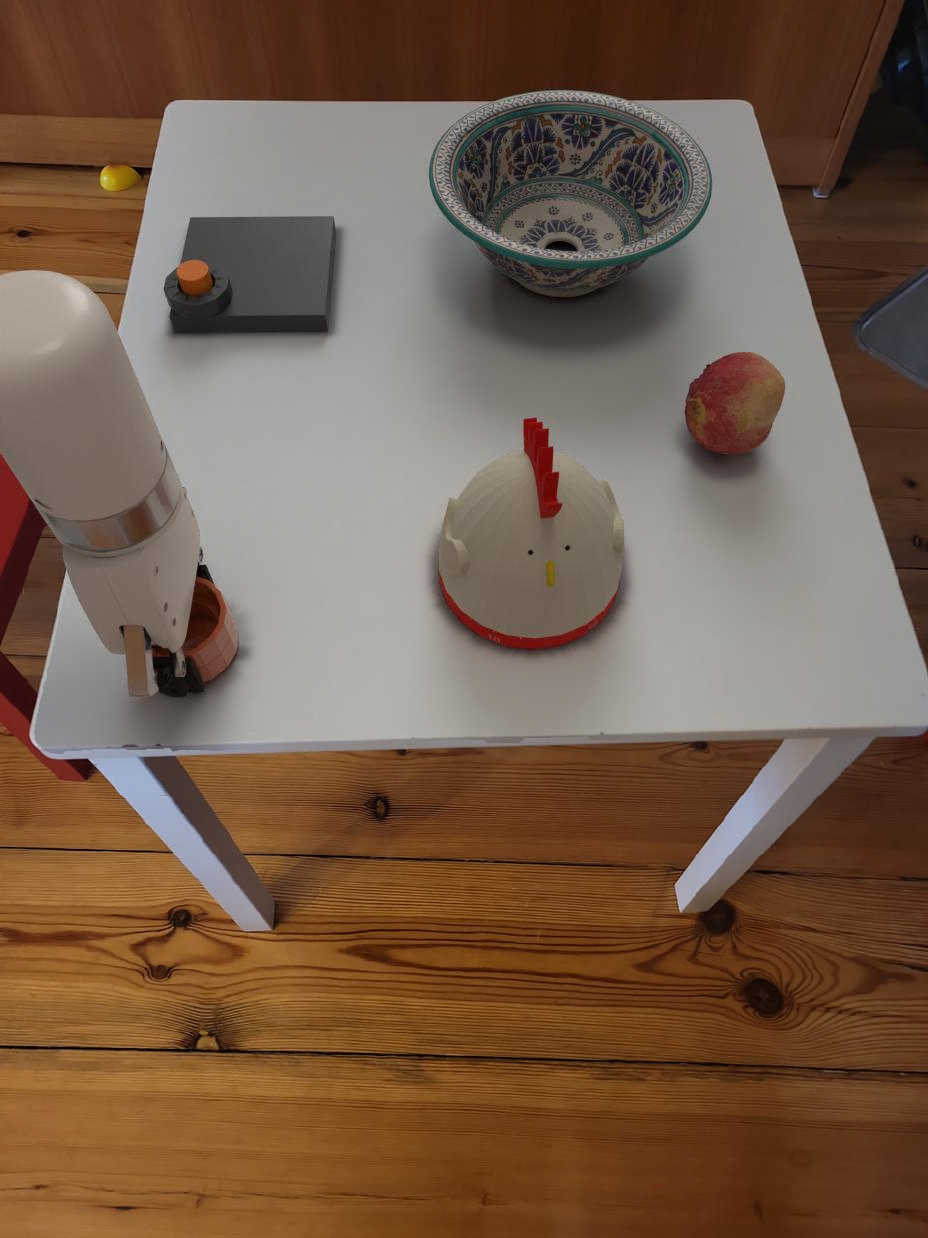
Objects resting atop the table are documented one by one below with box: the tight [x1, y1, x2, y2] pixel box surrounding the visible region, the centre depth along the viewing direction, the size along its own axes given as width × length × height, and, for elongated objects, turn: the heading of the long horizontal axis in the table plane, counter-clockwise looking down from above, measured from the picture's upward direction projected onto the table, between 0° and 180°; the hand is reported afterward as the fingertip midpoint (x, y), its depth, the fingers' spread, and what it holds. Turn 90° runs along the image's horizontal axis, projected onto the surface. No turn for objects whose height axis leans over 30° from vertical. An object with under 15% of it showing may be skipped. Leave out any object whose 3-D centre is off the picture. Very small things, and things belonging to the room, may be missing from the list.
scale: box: [163, 215, 337, 334], centre depth 85 cm, size 14×14×4 cm
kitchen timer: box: [438, 417, 625, 650], centre depth 64 cm, size 14×14×15 cm
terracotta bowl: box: [152, 576, 239, 683], centre depth 65 cm, size 7×7×5 cm
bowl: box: [428, 89, 713, 298], centre depth 84 cm, size 25×25×10 cm
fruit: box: [684, 351, 786, 455], centre depth 73 cm, size 8×8×8 cm
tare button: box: [176, 260, 213, 296], centre depth 81 cm, size 3×3×2 cm
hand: (189, 641), depth 66 cm, fingers closed on terracotta bowl, 6 cm apart
